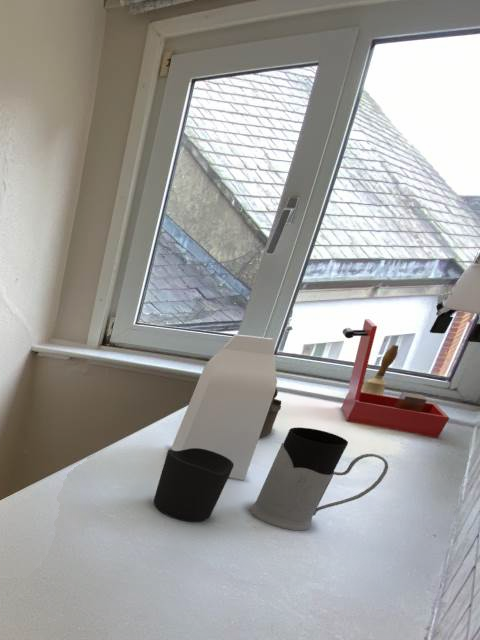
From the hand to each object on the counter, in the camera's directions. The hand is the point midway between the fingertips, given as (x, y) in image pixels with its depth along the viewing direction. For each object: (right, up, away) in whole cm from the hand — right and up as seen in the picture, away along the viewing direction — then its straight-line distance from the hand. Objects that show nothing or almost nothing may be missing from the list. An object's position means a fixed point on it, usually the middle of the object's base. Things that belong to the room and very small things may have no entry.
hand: (455, 337), depth 130 cm
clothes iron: (-48, -22, +2) cm, 53 cm away
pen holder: (-88, -39, -36) cm, 103 cm away
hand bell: (+10, -10, +32) cm, 35 cm away
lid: (-11, -3, +11) cm, 16 cm away
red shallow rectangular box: (-3, -19, +13) cm, 23 cm away
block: (-1, -19, +12) cm, 22 cm away
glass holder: (-69, -41, -38) cm, 89 cm away
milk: (-71, -31, -17) cm, 79 cm away
